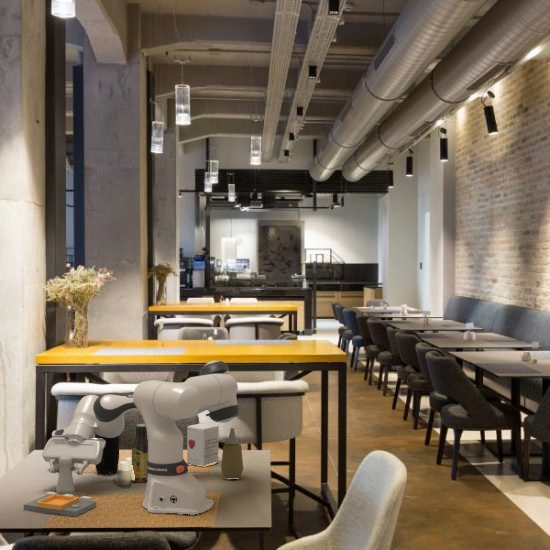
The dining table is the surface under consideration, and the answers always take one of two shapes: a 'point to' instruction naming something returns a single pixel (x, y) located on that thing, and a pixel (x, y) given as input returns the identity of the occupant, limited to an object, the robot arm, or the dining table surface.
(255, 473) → the dining table surface
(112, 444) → the portable speaker
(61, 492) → the salt shaker
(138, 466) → the sauce bottle
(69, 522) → the dining table surface
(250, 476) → the dining table surface
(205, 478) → the dining table surface
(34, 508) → the panel
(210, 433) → the supplement box
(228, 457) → the squeeze bottle
